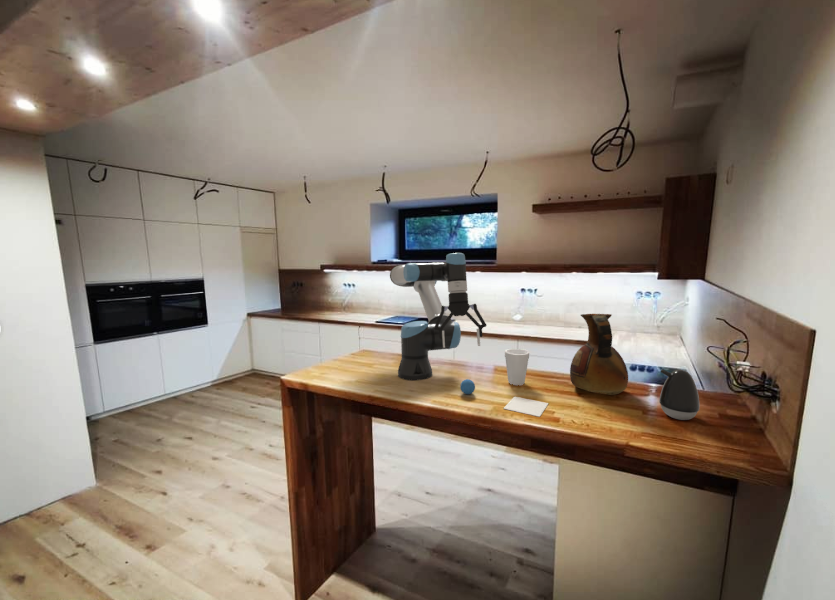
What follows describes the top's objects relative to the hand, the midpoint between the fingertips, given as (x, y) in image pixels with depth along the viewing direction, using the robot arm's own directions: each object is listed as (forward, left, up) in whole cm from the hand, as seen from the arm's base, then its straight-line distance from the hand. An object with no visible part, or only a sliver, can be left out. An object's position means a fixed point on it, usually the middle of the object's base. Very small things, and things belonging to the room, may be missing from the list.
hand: (461, 346), depth 138 cm
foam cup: (+17, +16, -17) cm, 29 cm away
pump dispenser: (+70, +12, -17) cm, 73 cm away
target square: (+27, -5, -16) cm, 32 cm away
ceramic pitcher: (+46, +23, -17) cm, 54 cm away
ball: (+5, -5, -14) cm, 15 cm away
